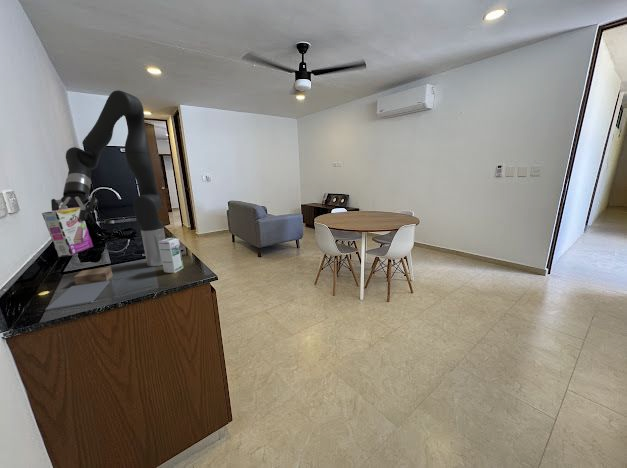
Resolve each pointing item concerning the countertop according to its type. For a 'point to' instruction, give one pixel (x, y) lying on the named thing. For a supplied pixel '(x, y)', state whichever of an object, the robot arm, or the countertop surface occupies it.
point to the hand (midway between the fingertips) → (71, 220)
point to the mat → (78, 295)
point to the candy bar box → (67, 231)
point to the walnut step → (93, 276)
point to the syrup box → (171, 255)
